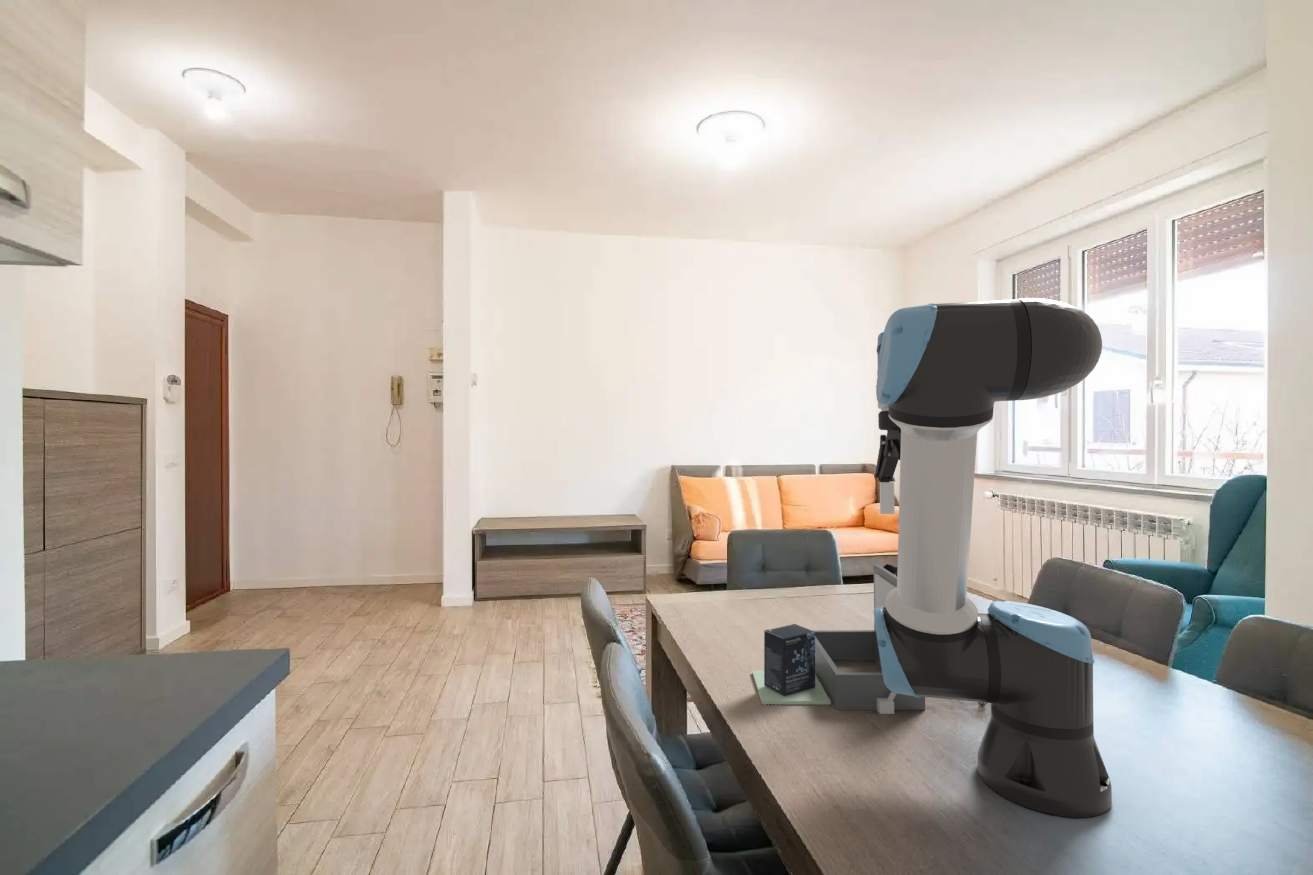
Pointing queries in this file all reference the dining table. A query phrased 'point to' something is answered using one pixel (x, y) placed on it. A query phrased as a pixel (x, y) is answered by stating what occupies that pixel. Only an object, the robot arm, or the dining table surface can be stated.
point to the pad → (798, 698)
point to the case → (859, 646)
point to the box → (789, 659)
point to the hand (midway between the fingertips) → (900, 518)
